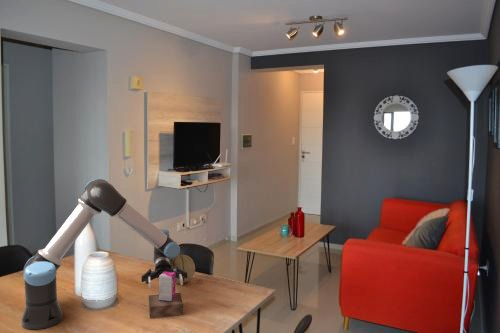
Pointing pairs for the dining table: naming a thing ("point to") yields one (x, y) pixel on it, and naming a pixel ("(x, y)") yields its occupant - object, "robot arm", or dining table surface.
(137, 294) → the dining table surface
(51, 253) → the robot arm
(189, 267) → the cantaloupe
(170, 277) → the supplement box
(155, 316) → the walnut block
